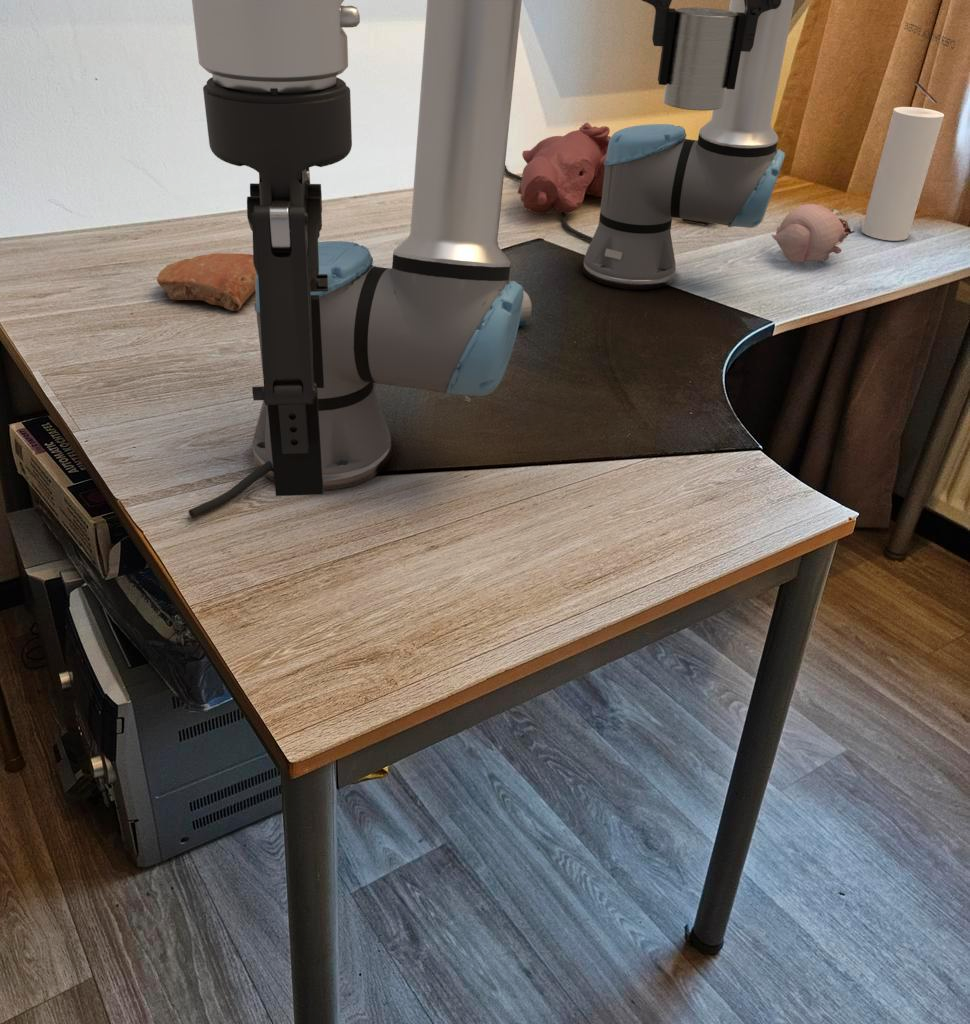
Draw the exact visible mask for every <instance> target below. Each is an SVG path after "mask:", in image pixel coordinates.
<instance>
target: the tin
mask: <svg viewBox="0 0 970 1024" xmlns="http://www.w3.org/2000/svg"><path fill="white" fill-rule="evenodd" d="M675 10H676V12H677V13H676V20H675V28H674V35H673V42H672V49H671V57H670V64H669V71H668V78H667V85H664V92H663V100H662V101H663V103H664V104H665V105H667V106H669V107H672V108H677V109H681V110H688V111H713V110H716V109H720V108H721V107H722V106H723V101H724V95H725V89H726V83H727V77H728V72H729V66H730V60H731V54H732V48H733V42H734V37H735V31H736V25H737V19H738V14H737V13H735V12H732V11H729V9H721V8H712V7H711V8H710V7H695V6H694V7H693V6H692V7H679V8H676V9H675Z"/></svg>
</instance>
